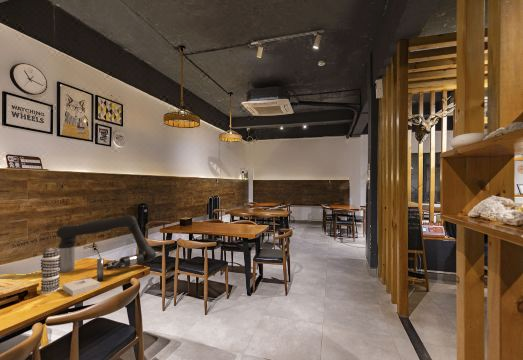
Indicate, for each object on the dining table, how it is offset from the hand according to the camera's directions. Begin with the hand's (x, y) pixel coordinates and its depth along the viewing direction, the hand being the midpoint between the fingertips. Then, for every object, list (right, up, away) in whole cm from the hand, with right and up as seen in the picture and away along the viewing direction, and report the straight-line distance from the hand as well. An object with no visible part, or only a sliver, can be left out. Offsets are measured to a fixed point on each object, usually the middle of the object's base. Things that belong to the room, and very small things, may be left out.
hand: (103, 267), depth 163 cm
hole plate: (-4, -8, -14) cm, 17 cm away
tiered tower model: (-21, -8, -17) cm, 28 cm away
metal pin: (-1, -8, -2) cm, 8 cm away
